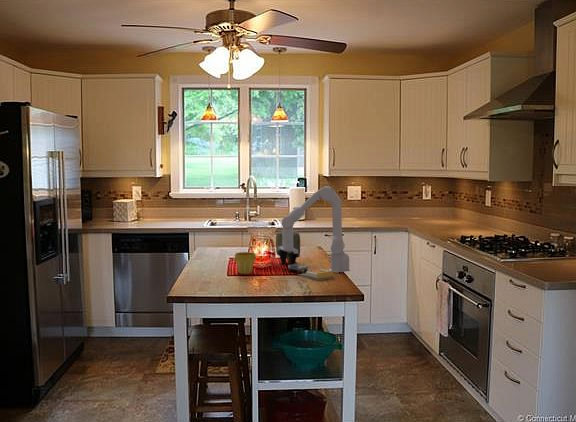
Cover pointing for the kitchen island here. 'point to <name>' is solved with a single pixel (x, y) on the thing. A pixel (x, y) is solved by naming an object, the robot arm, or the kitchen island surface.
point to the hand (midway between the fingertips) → (287, 265)
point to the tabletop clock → (295, 243)
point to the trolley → (297, 268)
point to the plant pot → (245, 262)
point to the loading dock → (318, 275)
